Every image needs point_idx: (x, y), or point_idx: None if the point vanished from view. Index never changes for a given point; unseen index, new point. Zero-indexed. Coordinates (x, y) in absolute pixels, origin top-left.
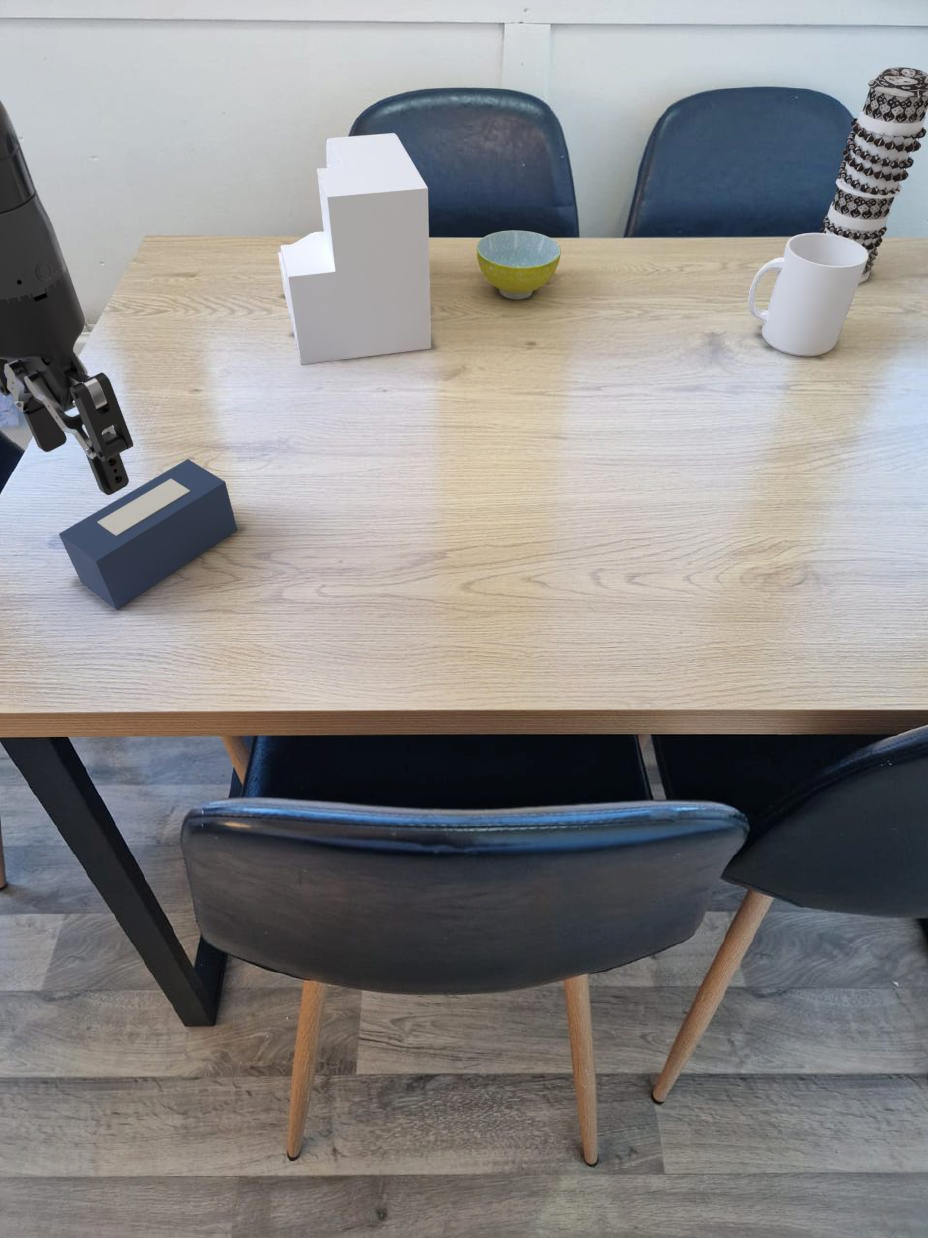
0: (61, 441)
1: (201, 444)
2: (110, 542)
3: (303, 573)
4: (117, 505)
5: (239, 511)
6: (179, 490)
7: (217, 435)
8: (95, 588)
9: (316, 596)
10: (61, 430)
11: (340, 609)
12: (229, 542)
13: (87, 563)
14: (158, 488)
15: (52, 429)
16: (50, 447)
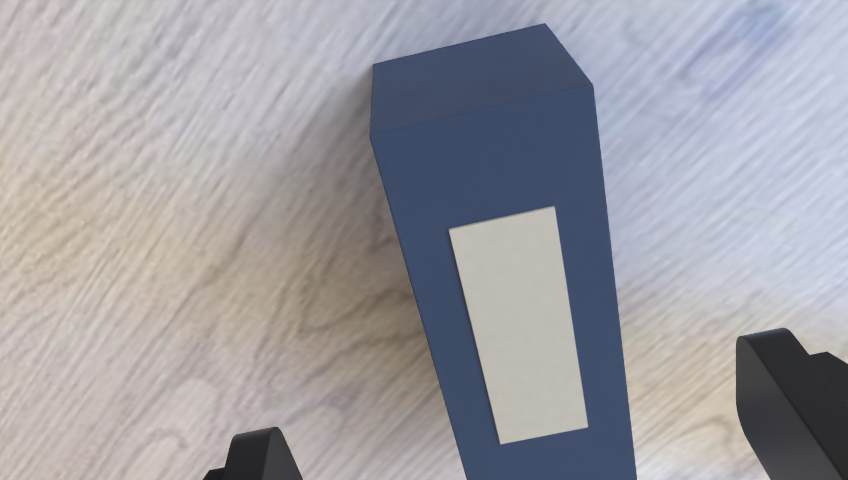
0: (745, 411)
1: None
2: (432, 204)
3: None
4: (588, 279)
5: None
6: (521, 425)
7: None
8: (458, 53)
9: (159, 424)
10: (767, 466)
11: (97, 442)
12: None
13: (443, 98)
14: (570, 390)
15: (780, 460)
16: (741, 366)
